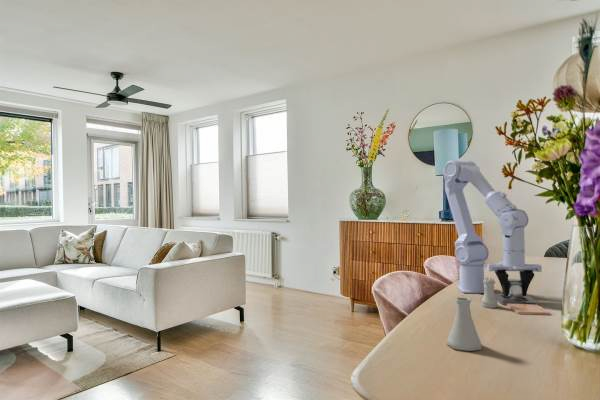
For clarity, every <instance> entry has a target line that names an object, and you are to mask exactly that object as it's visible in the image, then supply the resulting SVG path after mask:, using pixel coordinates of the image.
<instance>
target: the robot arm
mask: <svg viewBox="0 0 600 400" xmlns="http://www.w3.org/2000/svg"><path fill="white" fill-rule="evenodd" d="M442 176H443V178H444V190H445V191H444V192H445V194H446V197H447V201H448V204H449V208H450V211H451V216H452V218H453V219H452V220H453V222H454V225H455V229H456V233H457V236H458V238H456V241H454V244H453V245H454V247H455V250H454V255H455V259H456V260H457V262H458V264H459V265H460V266H459V269H458V271H459V275H458V276H459V284H456V287H457V289H459V290H460V292H462V293H467V294H468V293H469V294H484V291H485V288H484V286H485V284H484V282H483V280H484V278H485V264H486V261H487V260H488V258H489V255H490V251H489V249H488V247H487V246H486V244H485V243H484V240H483V238H482V237H481V236H479V234H477V233H476V229H475V226H474V224H473V223H474V222H473V220H472V216H471V213H470V210H469V207H468V203H467V201H466V197H465V193H464V189H465V187H466V186H467V185H468V184H469V183H470V184H471V185H472V186H474V188H475V189H476V190H477V191H479V192H480V193H481V194H482V195H483V196H484V198H485V202H484V203H485V205H486V206H487V207H488V208H489V209H490V210H491V211H492V213H493V214H494V215H495V216H496V218H498V219H497V223H498V225H499V227H500V228H501V233H502V257H503V258H502V261H503V262H502V263H487V264H486V268H487V269H486V270H487V271H488V272H494V273H495V275H496V277H497V279H498V281H499V284H500V287H501V289H502V290H501V291H502V294H503V295H505V296H508V279H509V276H510V275H509V274H508V272H518V273H519V280H521V281H523V296H526V295H528V294H527V293H528V290H529V287H530V285H531V282H532V281H533V279H534V277H535V272H537V273H542V272H543V270H542V269H543V267H542V265H541V264H536V263H535V264H534V263H533V264H531V263H525V262H526V261H525V259H526V257H525V254H526V251H525V228H526V227H527V225H528V224H529V216H528V214H527V212H526V211H525V210H523V209H520V208H518V207H517V206H516V205H515V204H514V203H512V202H511V200H510V199H509V198H507V196H508V195H507V194H506V192H502V191H501V190H500V191H499V190H498V191H496V190H495V189H494V188H493V186H492V185H491V184H490V183H489V181H488V180H487V179H486V177H485V176H484V175H483V174H482V172H481V171H480V167H479V166H478V165H476V162H474V161H472V160H467V161H466V160H455V159H454V160H453V159H452V160H449V161H447V162H446V163H445V164H444V167H443V169H442Z"/></svg>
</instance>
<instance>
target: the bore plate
mask: <svg viewBox="0 0 600 400" xmlns="http://www.w3.org/2000/svg"><path fill="white" fill-rule="evenodd" d="M494 295H495V298H496V300H497V302H499V304H501V305H502V306H507V304H537V305H539V306H541V303H540V302H539V301H537V300H536V299H534V298H532V297H531V296H530V295H528V294H526V296H523V301H514V300H506V296H505V295H503V293H494Z"/></svg>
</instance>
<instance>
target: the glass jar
mask: <svg viewBox="0 0 600 400" xmlns="http://www.w3.org/2000/svg"><path fill="white" fill-rule="evenodd" d="M505 299H506V300H514V301H524V300H523V281H521V279H517V278H516V279H515V278H514V279H513V278H510V279H509V278H508V296H506V298H505Z"/></svg>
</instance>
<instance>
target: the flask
mask: <svg viewBox="0 0 600 400" xmlns="http://www.w3.org/2000/svg"><path fill="white" fill-rule="evenodd" d="M455 302H456V313H455V317H454V320H453V324H452V326H451V328H450V332H449V334H448V337H447V341H446V345H447V346H449V347H451V348H452V349H453V350H460V351H468V352H473V351H480V350H483V344H482V341H481V339H480V337H479V334H478V332H477V328H476V326H475V323H474V320H473V317H472V313H471V306H470V305H471V303H472V299H471V298H469V297H466V296H465V297H464V296H460V297H459V296H457V297H455Z"/></svg>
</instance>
